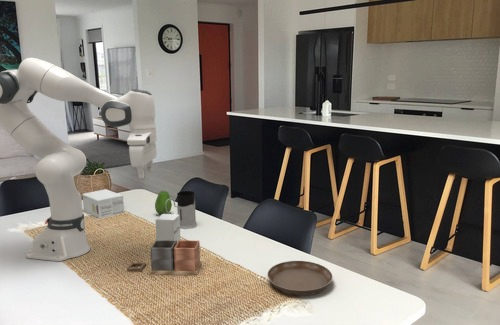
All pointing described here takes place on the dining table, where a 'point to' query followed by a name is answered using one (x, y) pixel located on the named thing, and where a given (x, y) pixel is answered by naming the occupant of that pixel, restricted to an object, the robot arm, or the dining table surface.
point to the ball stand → (130, 268)
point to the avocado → (163, 203)
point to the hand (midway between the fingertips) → (145, 174)
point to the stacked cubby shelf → (175, 257)
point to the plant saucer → (299, 277)
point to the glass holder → (185, 209)
